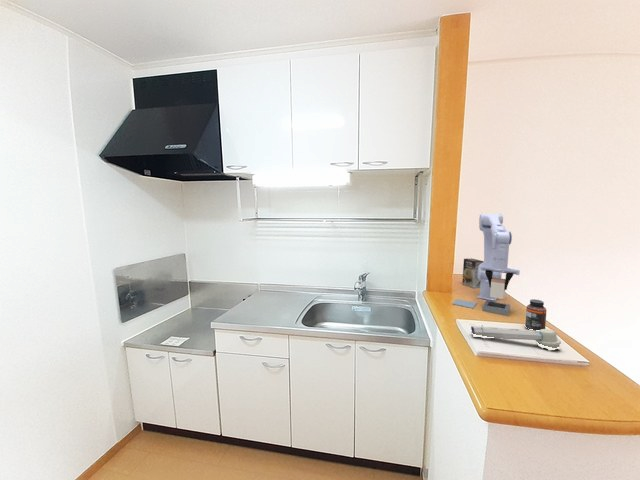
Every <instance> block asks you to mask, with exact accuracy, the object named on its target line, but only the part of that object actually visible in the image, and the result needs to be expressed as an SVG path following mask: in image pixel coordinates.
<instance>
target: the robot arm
mask: <svg viewBox="0 0 640 480" xmlns="http://www.w3.org/2000/svg"><path fill="white" fill-rule="evenodd" d="M478 218H479V219H478V224H479V225H478V228H479V231H481V232H482V234H483V261H484V262H483V263H482V264H480V265H479V266H478V279H479V280H481V282H480V288H479V294H478V295H477V298H478V299H483V300H488V301H494V302H497V299H498V298H494V297H490V291H491V279H492V278H493V277H494V278H501V279H502V276H503V275H502V274H505V278H504V279H505V289H504V290H505V291H506V290H508V286H509V283H510V281H511V279H512V278H513V276H514V275H516V276H520V274H521V272H520V269H514V268H508V264H509V263H508V262H509V253H510V252H509V251H510V249H509V248H510V245H511V244H512V240H513V239H512V237H513V235H512V234H513V233H512V231H507V229H506V227H505V225H504V224H503V222H504V215H503V214H502V213H481V214H480V215H479V217H478Z"/></svg>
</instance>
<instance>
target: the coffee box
mask: <svg viewBox="0 0 640 480" xmlns="http://www.w3.org/2000/svg"><path fill="white" fill-rule="evenodd" d="M483 262H484V260H480V259H475V258H463V266H462V283H461V284H462V285H463V284H464V285H463V286H466V287H469V288H472V289H480V282H481V280H479V279H478V266H479V265H480V264H482V263H483Z"/></svg>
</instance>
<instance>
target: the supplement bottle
mask: <svg viewBox="0 0 640 480" xmlns="http://www.w3.org/2000/svg"><path fill="white" fill-rule="evenodd" d="M544 304H545V302H544V301H543V300H540V299H535V298H534V299H533V298H532V299H530V300H529V304H528V305H526V309H525V310H526V312H525V323H524V324H525V326H526V327H527V328H529V329H533V330H541V329H546V324H547V323H546V322H547V308H546V307H544ZM525 326H524V327H525ZM526 327H525V328H526ZM527 328H526V329H527Z"/></svg>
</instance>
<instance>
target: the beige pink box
mask: <svg viewBox="0 0 640 480" xmlns="http://www.w3.org/2000/svg"><path fill="white" fill-rule="evenodd" d="M505 279H506V278H502V277H501V278H494V277H493V278H492V279H491V291H490V297H494V298H497V299H500V300H501V299H502V300H504V299H505V296H506V290H504V289H505Z"/></svg>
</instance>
